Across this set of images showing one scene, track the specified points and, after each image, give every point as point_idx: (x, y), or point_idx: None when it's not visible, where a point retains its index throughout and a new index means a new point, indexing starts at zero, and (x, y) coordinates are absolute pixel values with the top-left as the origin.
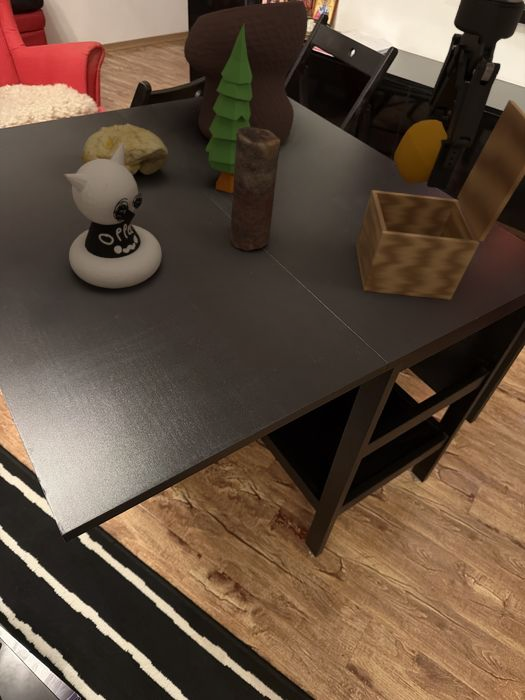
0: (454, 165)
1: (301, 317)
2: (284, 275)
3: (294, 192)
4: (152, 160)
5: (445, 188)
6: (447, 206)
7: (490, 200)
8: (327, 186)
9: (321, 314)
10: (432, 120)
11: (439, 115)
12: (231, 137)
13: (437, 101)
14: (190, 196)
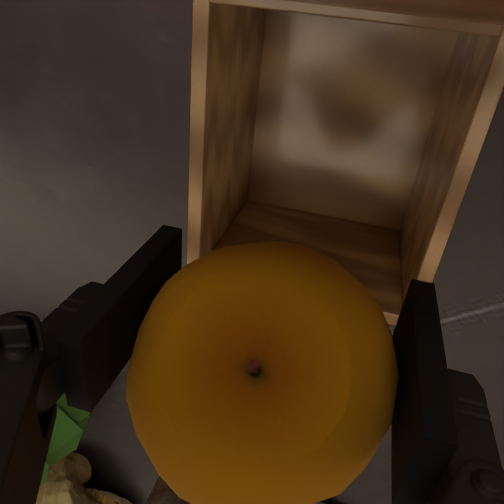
0: (444, 357)
1: (469, 365)
2: None
3: (63, 271)
4: (75, 478)
5: (433, 284)
6: (216, 24)
7: (468, 8)
8: (13, 196)
9: (468, 333)
10: (189, 486)
11: (56, 372)
12: (43, 470)
13: (37, 485)
14: (130, 426)
